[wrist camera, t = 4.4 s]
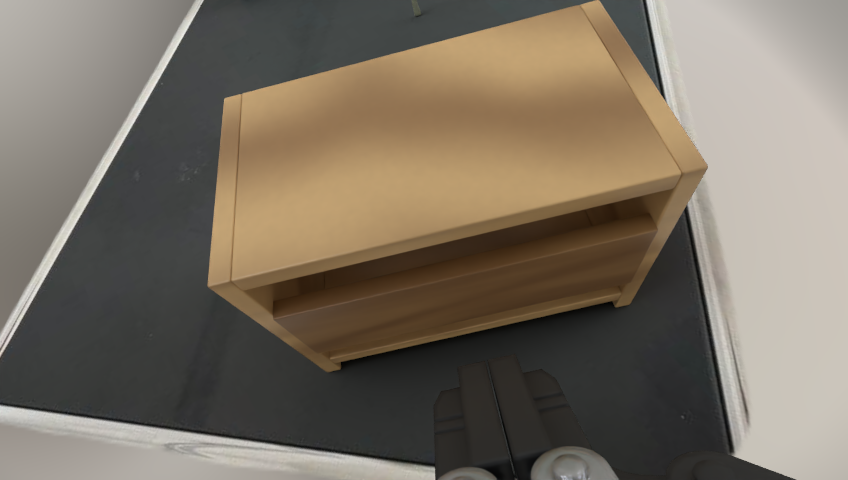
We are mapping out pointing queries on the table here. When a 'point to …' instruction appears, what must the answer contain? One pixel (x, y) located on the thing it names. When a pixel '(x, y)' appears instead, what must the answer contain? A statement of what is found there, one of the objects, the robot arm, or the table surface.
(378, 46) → the table surface
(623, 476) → the robot arm
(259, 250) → the wooden drawer chest
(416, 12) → the eyeglasses
